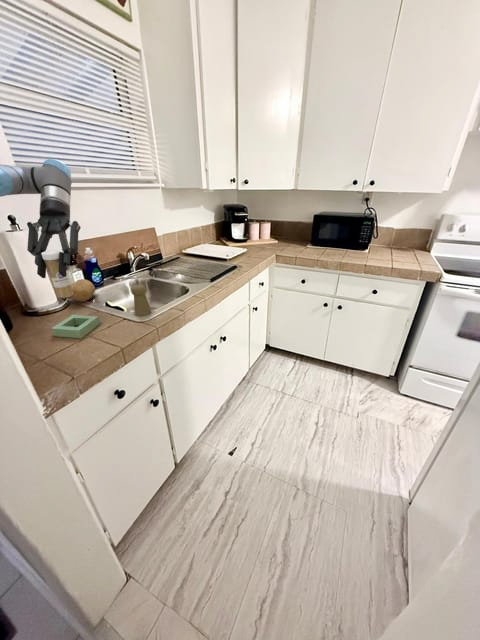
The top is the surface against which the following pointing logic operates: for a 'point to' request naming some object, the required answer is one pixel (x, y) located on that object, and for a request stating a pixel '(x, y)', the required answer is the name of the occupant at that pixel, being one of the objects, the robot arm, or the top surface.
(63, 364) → the top surface
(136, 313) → the olive chess piece
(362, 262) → the top surface
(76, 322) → the holder
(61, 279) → the sprinkles bottle
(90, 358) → the top surface
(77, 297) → the potato
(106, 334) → the top surface
